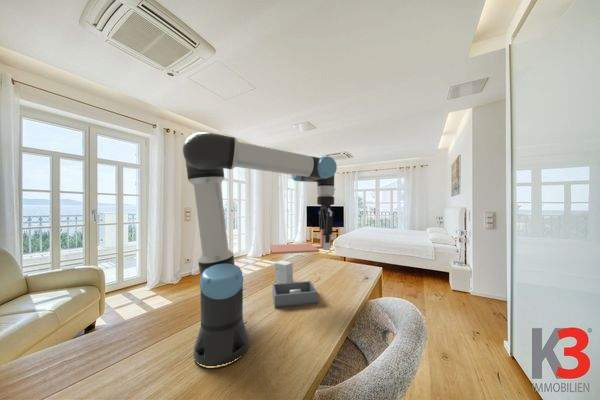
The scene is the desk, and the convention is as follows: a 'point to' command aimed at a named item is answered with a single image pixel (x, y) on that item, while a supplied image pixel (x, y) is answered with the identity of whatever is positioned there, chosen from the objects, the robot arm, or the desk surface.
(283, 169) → the robot arm
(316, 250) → the lid
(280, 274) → the small box
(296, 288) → the tub
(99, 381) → the desk surface
